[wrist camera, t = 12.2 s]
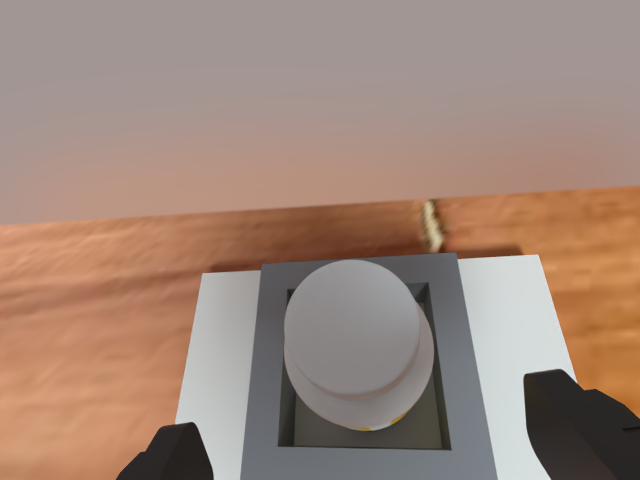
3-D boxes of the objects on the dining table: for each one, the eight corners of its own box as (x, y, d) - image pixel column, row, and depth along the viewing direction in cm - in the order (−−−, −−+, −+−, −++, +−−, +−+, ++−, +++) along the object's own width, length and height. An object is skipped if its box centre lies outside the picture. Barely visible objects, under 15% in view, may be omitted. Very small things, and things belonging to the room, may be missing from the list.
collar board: (529, 265, 21) (560, 227, 18) (601, 516, 16) (670, 543, 12) (212, 282, 25) (179, 252, 21) (176, 497, 19) (120, 513, 15)
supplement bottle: (328, 444, 18) (272, 449, 9) (306, 336, 20) (247, 265, 12) (436, 415, 17) (479, 395, 9) (400, 310, 20) (407, 220, 12)
